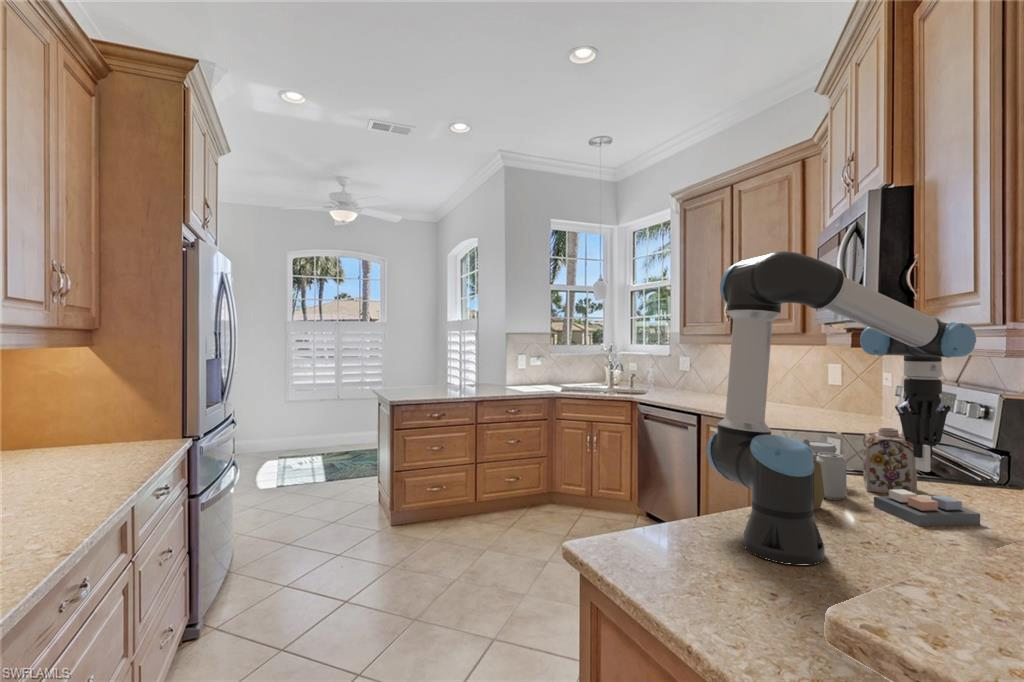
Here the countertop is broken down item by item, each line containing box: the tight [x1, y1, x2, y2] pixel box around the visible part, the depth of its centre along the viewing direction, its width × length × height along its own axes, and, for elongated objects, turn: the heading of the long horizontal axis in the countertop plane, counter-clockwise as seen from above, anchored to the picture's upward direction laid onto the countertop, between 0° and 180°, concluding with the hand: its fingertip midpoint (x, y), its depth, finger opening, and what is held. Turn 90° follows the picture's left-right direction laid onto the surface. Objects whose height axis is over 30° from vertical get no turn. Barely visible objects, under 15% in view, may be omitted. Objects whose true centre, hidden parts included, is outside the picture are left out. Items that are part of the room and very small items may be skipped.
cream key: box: [888, 489, 918, 504], centre depth 127 cm, size 4×4×3 cm
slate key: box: [930, 495, 963, 512], centre depth 122 cm, size 4×4×3 cm
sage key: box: [917, 494, 932, 499], centre depth 128 cm, size 4×4×3 cm
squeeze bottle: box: [802, 438, 825, 511], centre depth 132 cm, size 8×8×18 cm
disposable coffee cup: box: [809, 440, 838, 456], centre depth 154 cm, size 10×10×12 cm
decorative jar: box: [862, 427, 918, 495], centre depth 146 cm, size 12×12×18 cm
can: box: [816, 452, 848, 501], centre depth 140 cm, size 8×8×12 cm
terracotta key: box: [908, 497, 938, 513], centre depth 121 cm, size 4×4×3 cm
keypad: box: [873, 494, 981, 527], centre depth 124 cm, size 15×14×3 cm
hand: (922, 470), depth 126 cm, fingers closed
